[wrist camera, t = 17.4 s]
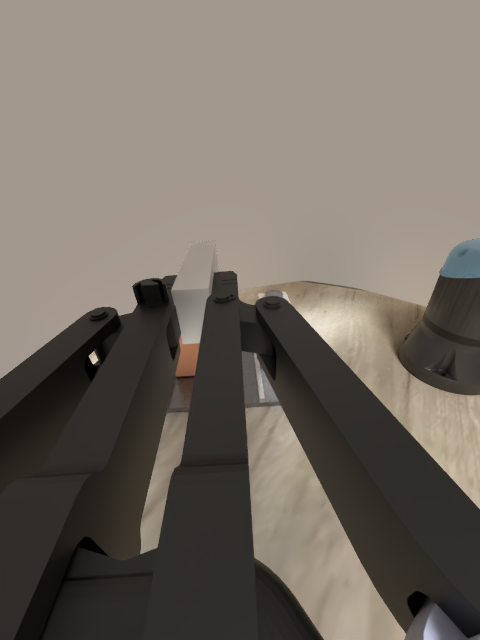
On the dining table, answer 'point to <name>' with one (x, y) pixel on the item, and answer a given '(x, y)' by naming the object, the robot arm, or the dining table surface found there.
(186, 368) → the orange square bottle
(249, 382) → the dark grey divided tray
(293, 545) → the dining table surface
